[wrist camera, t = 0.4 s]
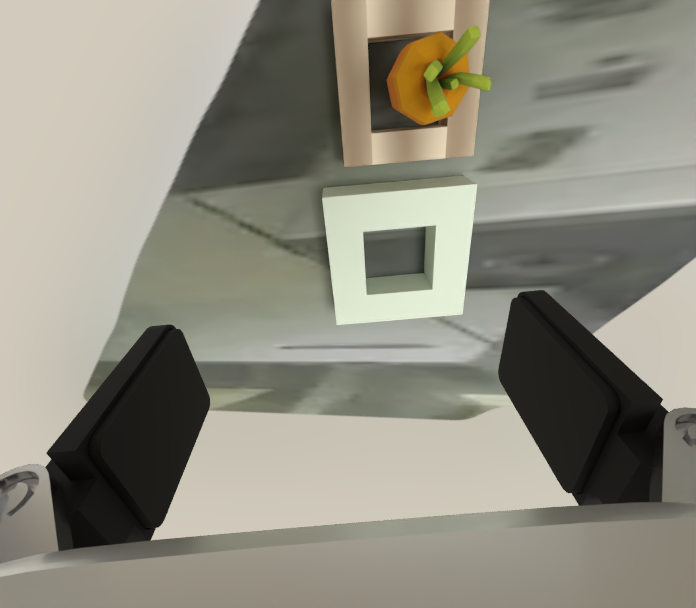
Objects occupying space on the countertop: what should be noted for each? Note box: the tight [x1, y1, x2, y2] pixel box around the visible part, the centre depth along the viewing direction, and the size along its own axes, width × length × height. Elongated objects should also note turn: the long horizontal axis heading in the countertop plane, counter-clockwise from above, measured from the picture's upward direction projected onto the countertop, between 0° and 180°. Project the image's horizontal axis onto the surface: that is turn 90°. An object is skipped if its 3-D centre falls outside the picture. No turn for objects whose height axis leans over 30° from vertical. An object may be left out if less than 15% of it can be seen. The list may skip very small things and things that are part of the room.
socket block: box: [331, 0, 490, 167], centre depth 29 cm, size 12×12×3 cm
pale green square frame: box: [322, 175, 477, 325], centre depth 36 cm, size 14×14×4 cm
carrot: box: [387, 26, 491, 125], centre depth 24 cm, size 5×5×15 cm
